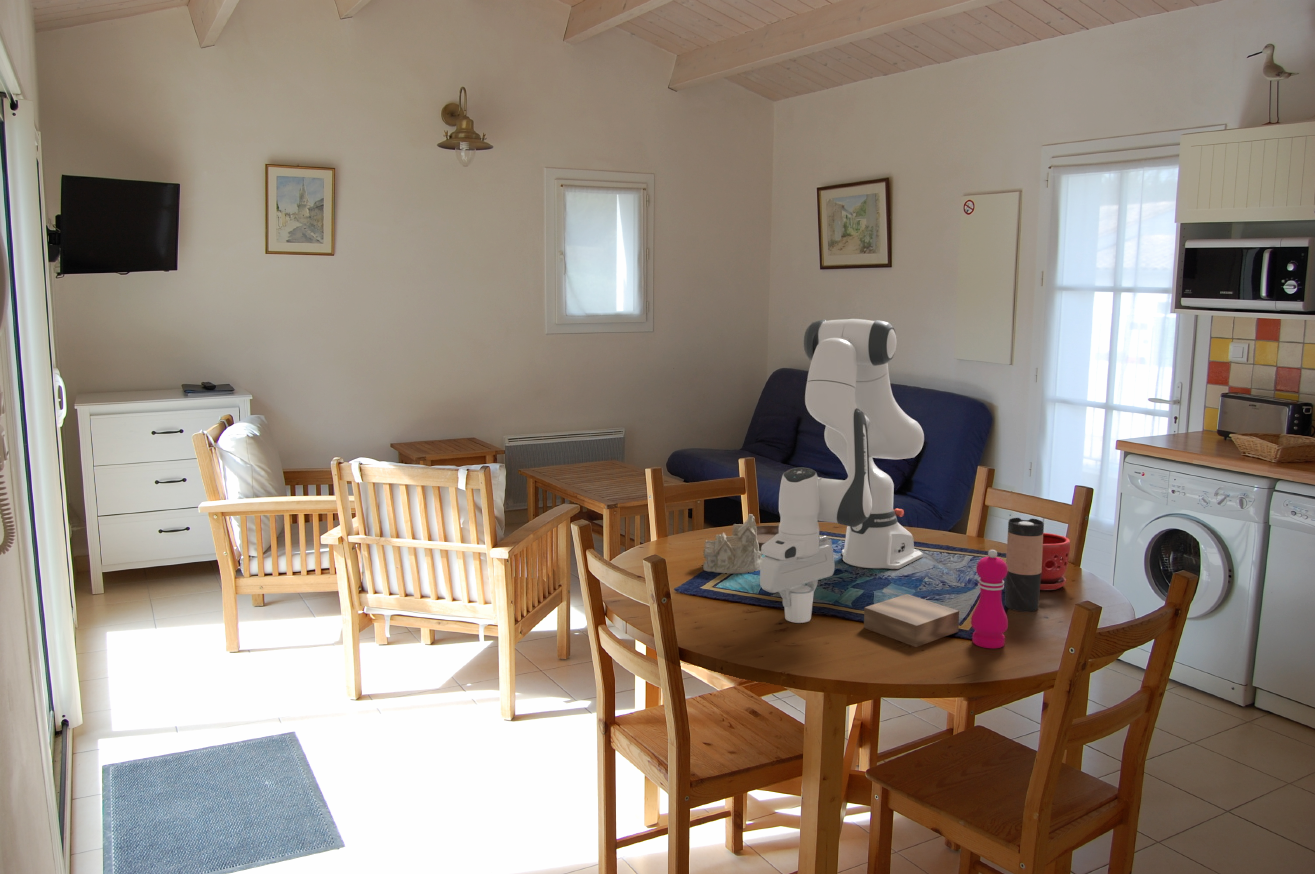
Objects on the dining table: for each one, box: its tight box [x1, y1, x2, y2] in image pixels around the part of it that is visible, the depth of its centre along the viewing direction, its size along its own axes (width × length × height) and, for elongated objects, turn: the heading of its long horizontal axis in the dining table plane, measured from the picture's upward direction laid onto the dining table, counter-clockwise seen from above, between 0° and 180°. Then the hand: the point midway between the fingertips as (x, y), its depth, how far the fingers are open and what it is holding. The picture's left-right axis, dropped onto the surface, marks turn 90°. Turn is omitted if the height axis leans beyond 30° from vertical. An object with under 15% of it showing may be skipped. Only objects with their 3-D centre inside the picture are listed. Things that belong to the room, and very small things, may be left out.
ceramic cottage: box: [702, 513, 763, 575], centre depth 256 cm, size 16×16×15 cm
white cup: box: [783, 584, 815, 624], centre depth 217 cm, size 7×7×7 cm
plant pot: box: [1040, 532, 1071, 591], centre depth 237 cm, size 13×13×12 cm
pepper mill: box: [970, 549, 1009, 649], centre depth 200 cm, size 7×7×20 cm
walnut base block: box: [863, 593, 960, 648], centre depth 210 cm, size 14×14×5 cm
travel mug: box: [1004, 517, 1045, 613], centre depth 222 cm, size 8×8×20 cm
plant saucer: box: [756, 524, 779, 550], centre depth 277 cm, size 18×18×3 cm
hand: (798, 602), depth 217 cm, fingers closed on white cup, 5 cm apart
